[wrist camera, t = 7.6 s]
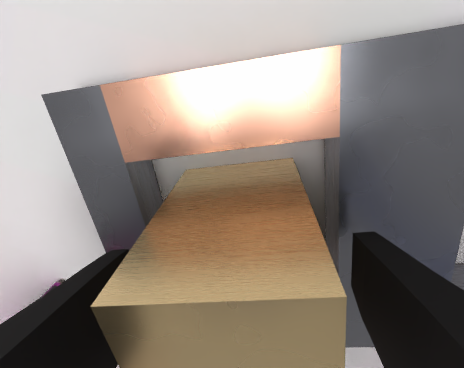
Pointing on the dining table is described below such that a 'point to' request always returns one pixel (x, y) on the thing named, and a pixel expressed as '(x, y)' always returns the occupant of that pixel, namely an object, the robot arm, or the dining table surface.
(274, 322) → the light brown rectangular block
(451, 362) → the robot arm
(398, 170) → the grey flat frame piece
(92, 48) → the dining table surface
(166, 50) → the dining table surface
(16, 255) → the dining table surface
